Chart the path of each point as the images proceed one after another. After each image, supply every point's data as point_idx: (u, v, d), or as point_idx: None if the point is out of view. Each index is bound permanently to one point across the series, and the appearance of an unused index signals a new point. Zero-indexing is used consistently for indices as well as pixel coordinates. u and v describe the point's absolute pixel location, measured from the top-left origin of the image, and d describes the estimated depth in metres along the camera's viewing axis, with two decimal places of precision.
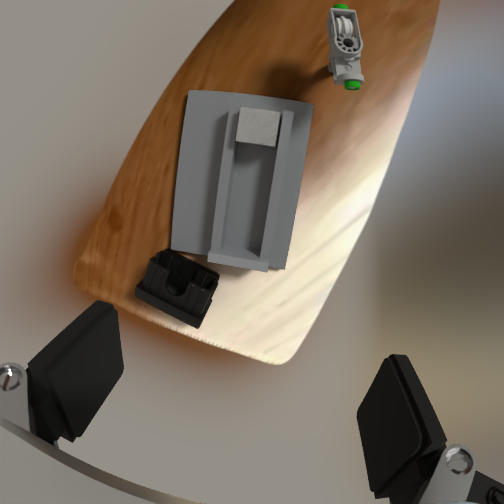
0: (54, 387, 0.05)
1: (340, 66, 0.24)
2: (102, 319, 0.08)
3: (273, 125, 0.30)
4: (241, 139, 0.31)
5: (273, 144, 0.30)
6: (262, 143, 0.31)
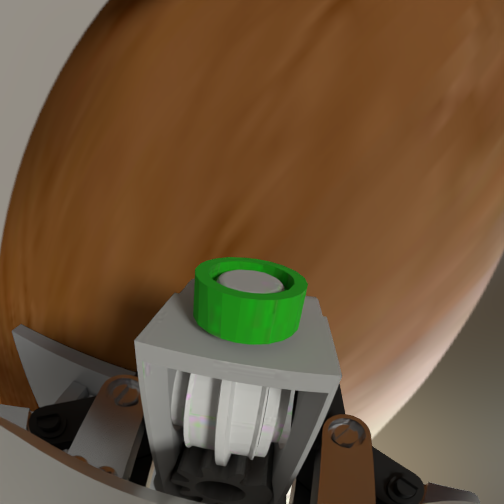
0: None
1: None
2: None
3: None
4: None
5: None
6: None
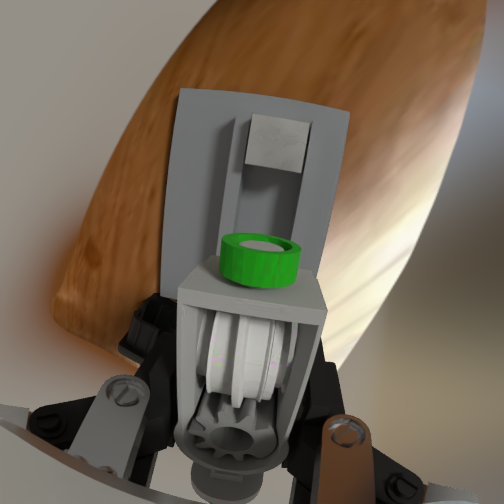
0: None
1: None
2: None
3: (299, 141, 0.21)
4: (253, 161, 0.22)
5: (299, 170, 0.22)
6: (283, 168, 0.22)
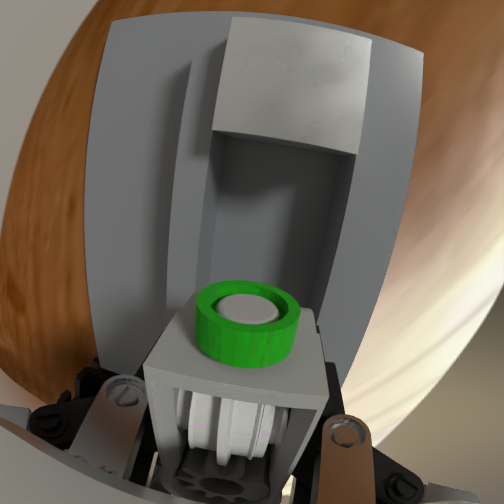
0: None
1: None
2: None
3: (350, 77, 0.07)
4: (233, 124, 0.08)
5: (352, 146, 0.08)
6: (313, 140, 0.08)
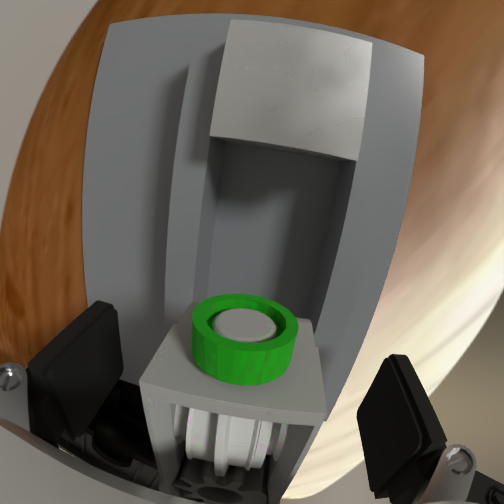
0: (54, 387, 0.05)
1: None
2: (102, 319, 0.08)
3: (350, 81, 0.07)
4: (231, 130, 0.08)
5: (352, 153, 0.08)
6: (312, 146, 0.08)
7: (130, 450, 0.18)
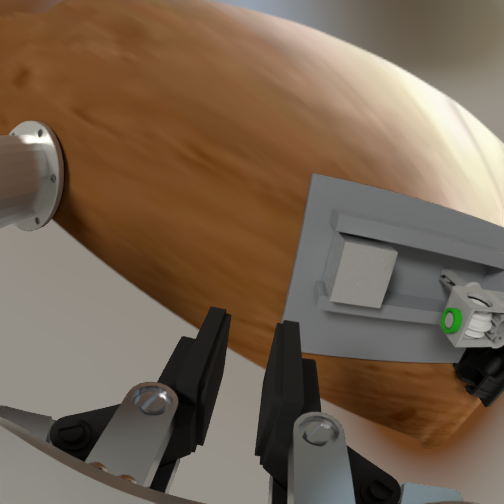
0: (205, 399, 0.06)
1: None
2: (226, 325, 0.09)
3: (365, 253, 0.19)
4: (379, 300, 0.20)
5: (394, 254, 0.18)
6: (391, 270, 0.19)
7: None
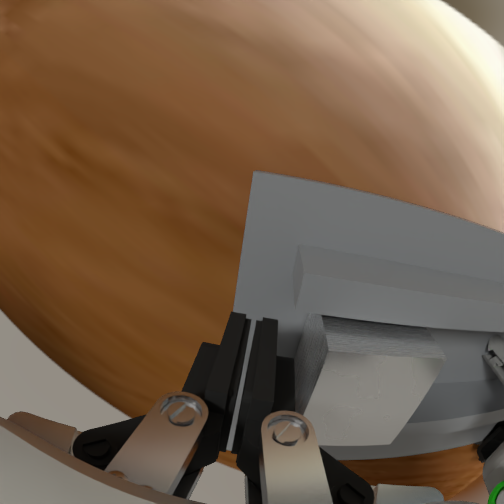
0: (233, 407, 0.06)
1: None
2: (248, 330, 0.09)
3: (376, 370, 0.07)
4: (392, 435, 0.08)
5: (439, 363, 0.07)
6: (425, 391, 0.07)
7: None
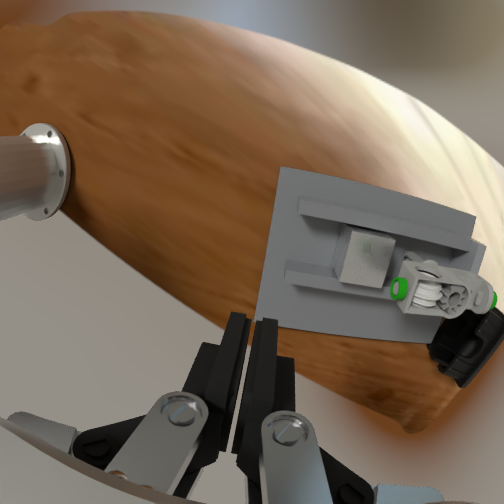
0: (233, 407, 0.06)
1: None
2: (248, 330, 0.09)
3: (368, 241, 0.22)
4: (381, 281, 0.23)
5: (393, 241, 0.22)
6: (390, 255, 0.22)
7: None
